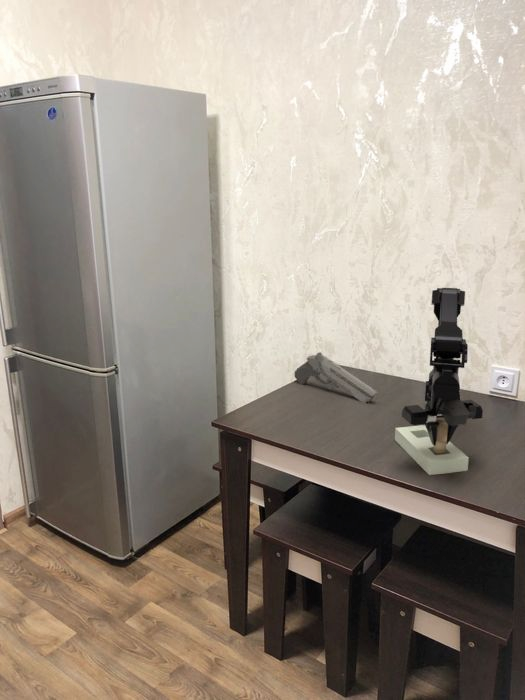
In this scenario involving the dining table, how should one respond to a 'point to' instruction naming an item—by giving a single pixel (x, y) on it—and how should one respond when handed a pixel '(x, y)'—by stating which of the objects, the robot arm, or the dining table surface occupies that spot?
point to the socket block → (430, 451)
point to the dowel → (441, 437)
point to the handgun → (333, 377)
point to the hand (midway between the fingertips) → (439, 444)
